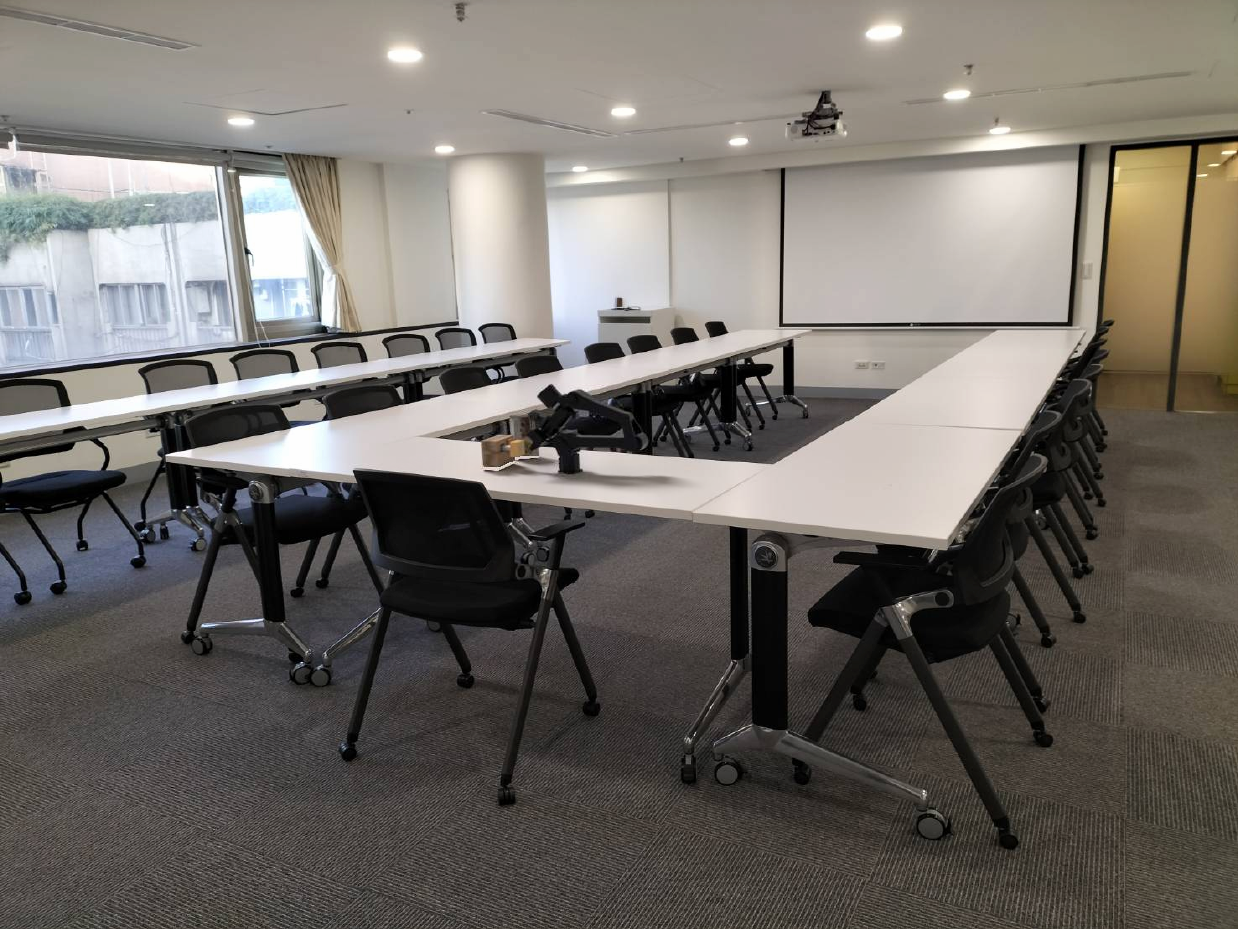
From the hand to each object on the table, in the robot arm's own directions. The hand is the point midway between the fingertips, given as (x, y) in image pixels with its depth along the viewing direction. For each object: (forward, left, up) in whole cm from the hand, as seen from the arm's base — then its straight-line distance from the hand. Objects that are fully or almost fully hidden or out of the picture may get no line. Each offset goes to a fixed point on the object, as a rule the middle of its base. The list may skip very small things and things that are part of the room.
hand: (530, 450), depth 301 cm
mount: (+14, 0, -7) cm, 16 cm away
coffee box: (+16, -17, -7) cm, 24 cm away
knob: (+7, +1, -2) cm, 8 cm away
